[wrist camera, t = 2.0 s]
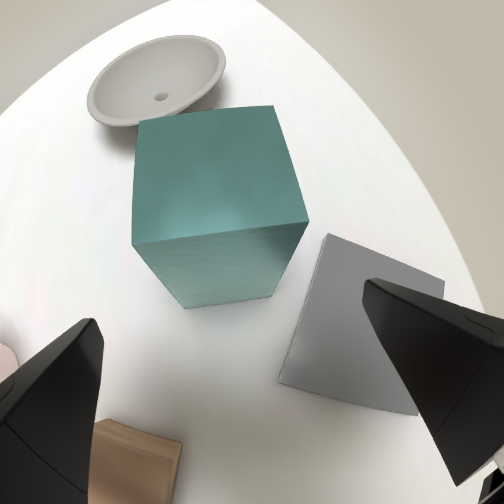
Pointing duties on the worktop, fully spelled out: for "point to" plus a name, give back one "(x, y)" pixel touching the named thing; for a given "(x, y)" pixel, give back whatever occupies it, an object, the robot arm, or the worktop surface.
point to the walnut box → (131, 466)
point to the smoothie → (7, 362)
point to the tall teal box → (216, 204)
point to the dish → (155, 80)
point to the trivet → (350, 330)
